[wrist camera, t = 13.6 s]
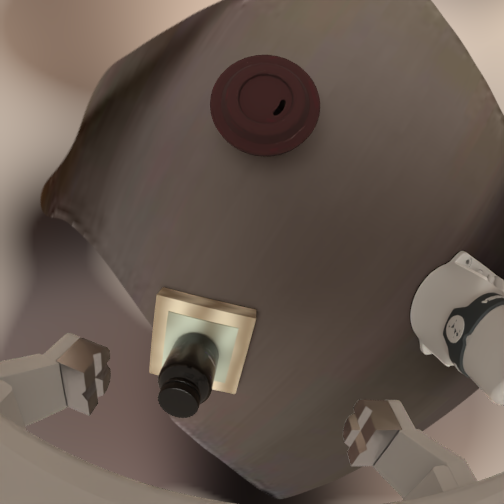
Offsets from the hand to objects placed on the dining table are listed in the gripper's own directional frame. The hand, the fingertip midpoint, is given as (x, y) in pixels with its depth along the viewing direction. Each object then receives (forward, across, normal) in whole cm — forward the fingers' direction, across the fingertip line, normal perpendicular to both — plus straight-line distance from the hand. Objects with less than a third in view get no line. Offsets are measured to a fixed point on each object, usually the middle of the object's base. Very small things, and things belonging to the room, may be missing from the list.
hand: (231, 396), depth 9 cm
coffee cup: (+34, +2, -13) cm, 36 cm away
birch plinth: (+33, +4, +19) cm, 38 cm away
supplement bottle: (+30, +4, +19) cm, 36 cm away
